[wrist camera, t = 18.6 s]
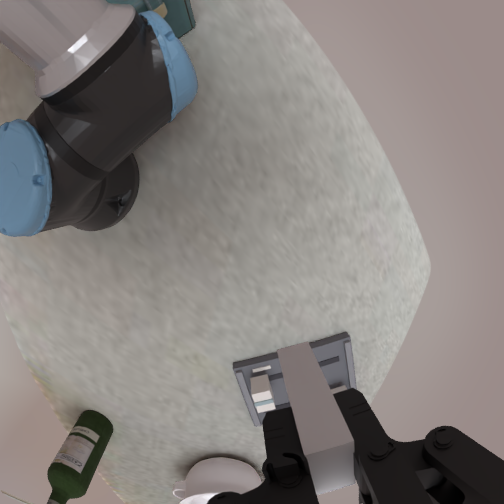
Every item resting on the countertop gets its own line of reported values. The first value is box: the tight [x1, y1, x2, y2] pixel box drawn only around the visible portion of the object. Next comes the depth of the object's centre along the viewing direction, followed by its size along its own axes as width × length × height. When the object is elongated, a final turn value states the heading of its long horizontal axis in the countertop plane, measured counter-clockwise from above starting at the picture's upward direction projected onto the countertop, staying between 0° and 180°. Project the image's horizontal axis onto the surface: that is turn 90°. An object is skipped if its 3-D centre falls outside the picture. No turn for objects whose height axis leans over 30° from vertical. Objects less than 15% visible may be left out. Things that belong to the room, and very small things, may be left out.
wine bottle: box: [47, 411, 113, 504], centre depth 37 cm, size 8×8×30 cm
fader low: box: [331, 385, 347, 394], centre depth 46 cm, size 3×4×6 cm
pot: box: [173, 457, 262, 504], centre depth 50 cm, size 22×17×12 cm
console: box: [233, 332, 357, 427], centre depth 50 cm, size 20×14×3 cm
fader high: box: [250, 374, 276, 413], centre depth 45 cm, size 3×4×6 cm
